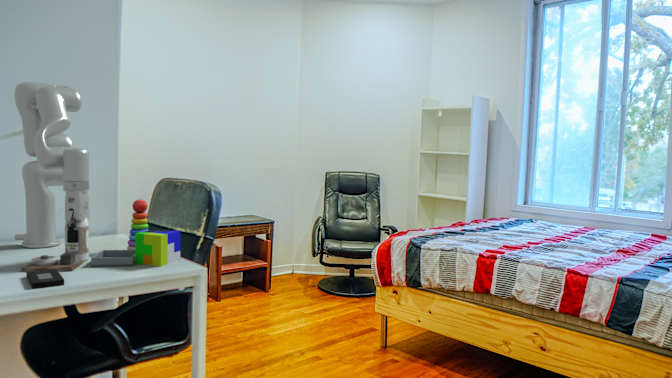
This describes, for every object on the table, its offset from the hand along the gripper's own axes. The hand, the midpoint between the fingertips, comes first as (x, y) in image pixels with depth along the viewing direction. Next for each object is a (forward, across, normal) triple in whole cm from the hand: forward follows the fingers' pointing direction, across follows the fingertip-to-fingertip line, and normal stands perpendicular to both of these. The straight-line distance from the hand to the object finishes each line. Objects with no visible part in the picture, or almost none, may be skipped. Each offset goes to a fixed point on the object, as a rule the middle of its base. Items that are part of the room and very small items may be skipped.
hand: (76, 239), depth 166 cm
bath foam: (+7, 0, 0) cm, 7 cm away
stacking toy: (+7, +16, -16) cm, 24 cm away
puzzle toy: (+7, -3, -26) cm, 27 cm away
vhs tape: (+7, -26, 0) cm, 27 cm away
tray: (+7, -3, -13) cm, 15 cm away
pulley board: (+7, -10, +4) cm, 12 cm away
